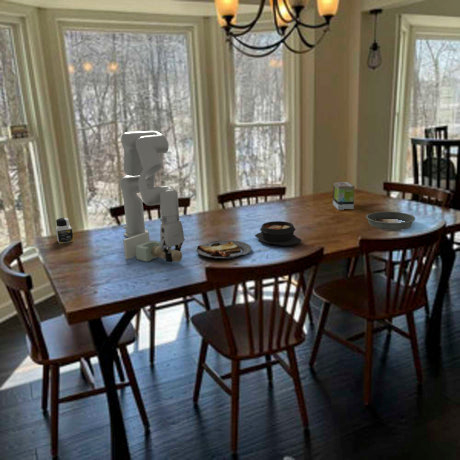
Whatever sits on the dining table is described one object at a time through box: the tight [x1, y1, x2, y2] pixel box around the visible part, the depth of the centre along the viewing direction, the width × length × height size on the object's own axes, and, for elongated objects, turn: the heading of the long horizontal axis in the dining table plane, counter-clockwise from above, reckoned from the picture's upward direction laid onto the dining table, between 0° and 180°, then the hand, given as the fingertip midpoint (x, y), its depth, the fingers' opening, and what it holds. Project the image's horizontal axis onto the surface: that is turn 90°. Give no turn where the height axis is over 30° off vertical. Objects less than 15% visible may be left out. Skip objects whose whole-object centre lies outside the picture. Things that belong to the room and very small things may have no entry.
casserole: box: [254, 220, 302, 247], centre depth 217 cm, size 25×19×8 cm
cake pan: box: [365, 211, 416, 231], centre depth 238 cm, size 25×25×4 cm
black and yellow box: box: [55, 217, 74, 244], centre depth 231 cm, size 7×7×12 cm
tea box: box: [332, 181, 356, 211], centre depth 278 cm, size 15×10×15 cm, turn 179°
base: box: [122, 231, 150, 260], centre depth 206 cm, size 2×14×9 cm, turn 143°
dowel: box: [151, 246, 183, 263], centre depth 195 cm, size 14×5×5 cm, turn 53°
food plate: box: [196, 239, 252, 259], centre depth 206 cm, size 25×23×4 cm
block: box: [135, 239, 161, 262], centre depth 202 cm, size 6×10×6 cm, turn 143°
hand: (173, 259), depth 194 cm, fingers closed on dowel, 4 cm apart
